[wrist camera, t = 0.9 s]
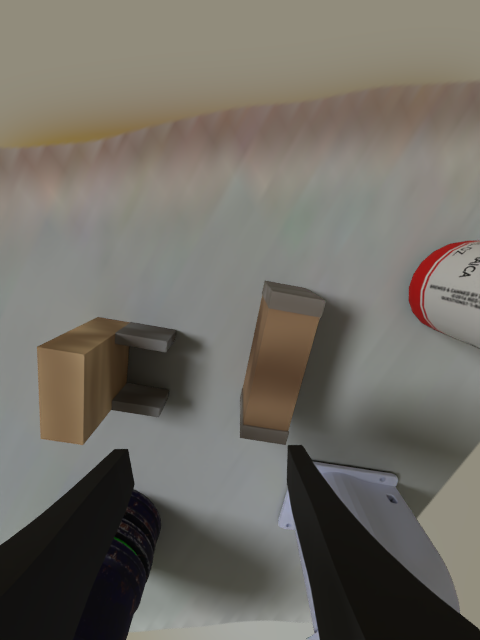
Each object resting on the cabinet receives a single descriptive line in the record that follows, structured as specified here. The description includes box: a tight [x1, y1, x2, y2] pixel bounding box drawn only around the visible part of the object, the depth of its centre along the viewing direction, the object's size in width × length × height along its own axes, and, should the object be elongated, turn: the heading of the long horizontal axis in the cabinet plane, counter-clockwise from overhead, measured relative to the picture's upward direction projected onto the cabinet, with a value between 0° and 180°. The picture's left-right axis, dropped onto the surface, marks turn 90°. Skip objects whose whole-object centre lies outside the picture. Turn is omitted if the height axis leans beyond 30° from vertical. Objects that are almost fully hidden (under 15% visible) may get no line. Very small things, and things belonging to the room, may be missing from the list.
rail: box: [240, 281, 326, 445], centre depth 18 cm, size 10×3×5 cm, turn 170°
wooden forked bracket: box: [37, 317, 176, 445], centre depth 17 cm, size 6×6×6 cm
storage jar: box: [73, 490, 161, 640], centre depth 18 cm, size 10×10×15 cm
